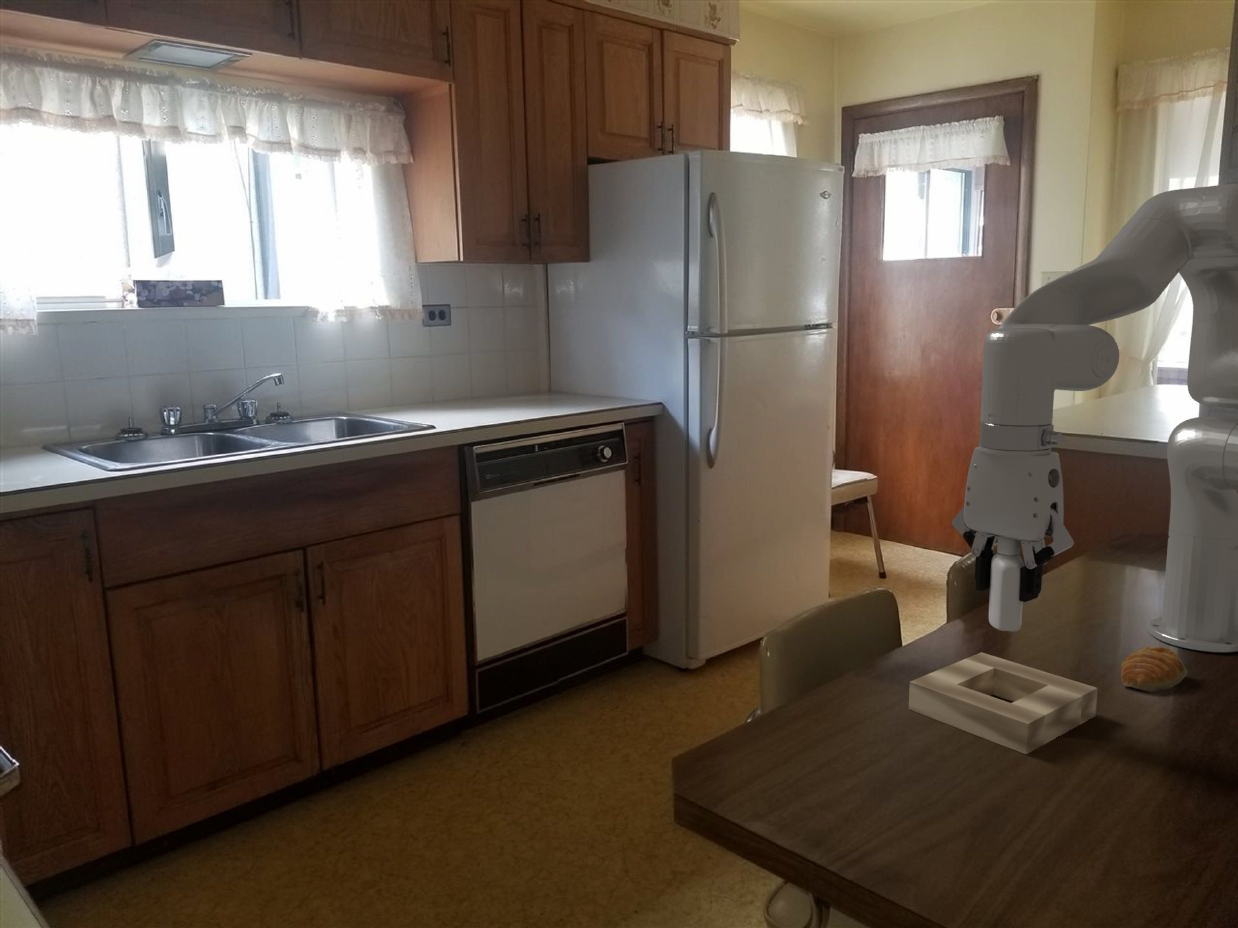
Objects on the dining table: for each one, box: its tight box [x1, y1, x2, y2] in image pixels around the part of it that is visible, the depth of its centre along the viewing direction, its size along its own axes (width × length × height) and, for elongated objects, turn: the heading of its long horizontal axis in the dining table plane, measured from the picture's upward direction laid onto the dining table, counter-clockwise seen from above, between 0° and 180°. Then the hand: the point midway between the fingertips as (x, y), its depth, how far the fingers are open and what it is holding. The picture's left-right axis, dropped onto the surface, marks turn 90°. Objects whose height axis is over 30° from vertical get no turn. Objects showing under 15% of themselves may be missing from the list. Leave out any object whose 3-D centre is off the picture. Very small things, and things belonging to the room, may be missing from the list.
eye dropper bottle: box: [988, 536, 1025, 632], centre depth 111 cm, size 4×6×12 cm
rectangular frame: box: [908, 652, 1098, 755], centre depth 113 cm, size 15×15×4 cm
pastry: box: [1120, 645, 1188, 693], centre depth 122 cm, size 9×7×4 cm
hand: (1006, 592), depth 111 cm, fingers closed on eye dropper bottle, 4 cm apart
